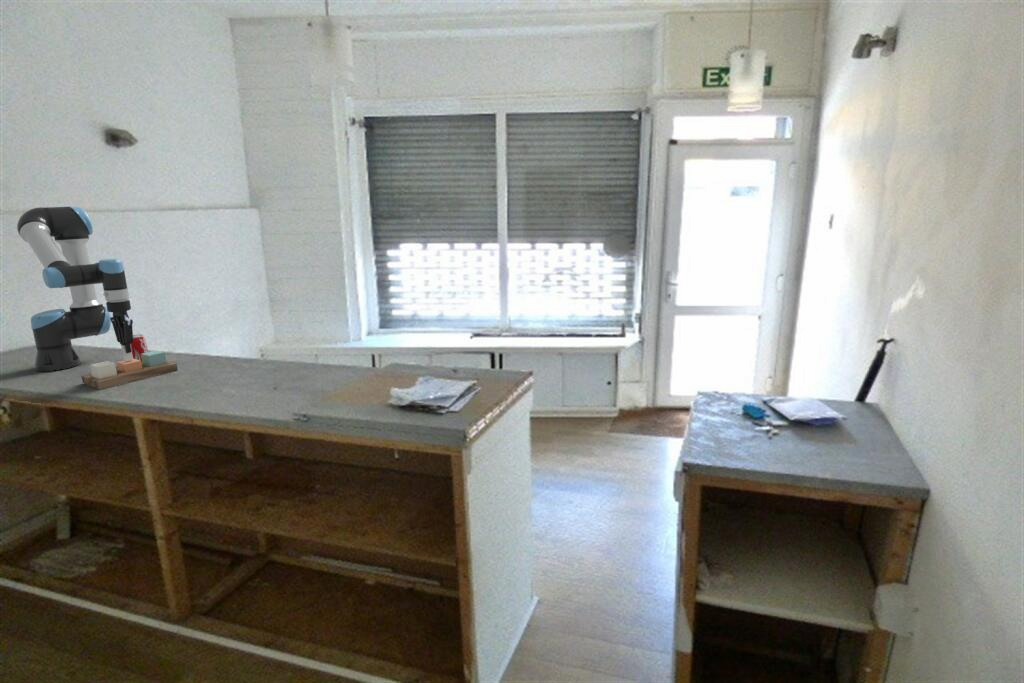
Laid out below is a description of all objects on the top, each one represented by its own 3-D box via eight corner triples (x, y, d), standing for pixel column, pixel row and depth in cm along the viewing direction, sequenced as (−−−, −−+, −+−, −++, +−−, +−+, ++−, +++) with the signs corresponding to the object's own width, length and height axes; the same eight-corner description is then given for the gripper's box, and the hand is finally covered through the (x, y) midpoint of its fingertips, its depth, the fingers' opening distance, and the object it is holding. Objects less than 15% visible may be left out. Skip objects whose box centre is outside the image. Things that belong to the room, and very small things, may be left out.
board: (83, 383, 221) (81, 376, 220) (160, 365, 243) (158, 358, 243) (99, 389, 213) (98, 381, 213) (177, 370, 236) (176, 363, 235)
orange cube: (119, 375, 227) (116, 362, 226) (136, 371, 232) (133, 358, 231) (126, 378, 224) (124, 364, 223) (143, 374, 229) (141, 360, 228)
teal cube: (143, 367, 234) (141, 353, 233) (159, 363, 239) (156, 350, 238) (151, 369, 231) (148, 355, 230) (166, 365, 236) (164, 352, 235)
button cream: (92, 378, 220) (89, 364, 219) (110, 374, 225) (107, 360, 223) (99, 381, 217) (96, 367, 215) (117, 377, 221) (114, 363, 220)
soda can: (143, 366, 243) (138, 337, 240) (126, 366, 243) (121, 338, 240) (153, 361, 250) (148, 333, 247) (137, 361, 250) (132, 334, 247)
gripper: (98, 300, 222) (110, 360, 227) (114, 303, 215) (126, 365, 220) (120, 297, 228) (131, 356, 233) (136, 300, 221) (147, 360, 226)
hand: (128, 360), depth 227 cm, fingers closed
